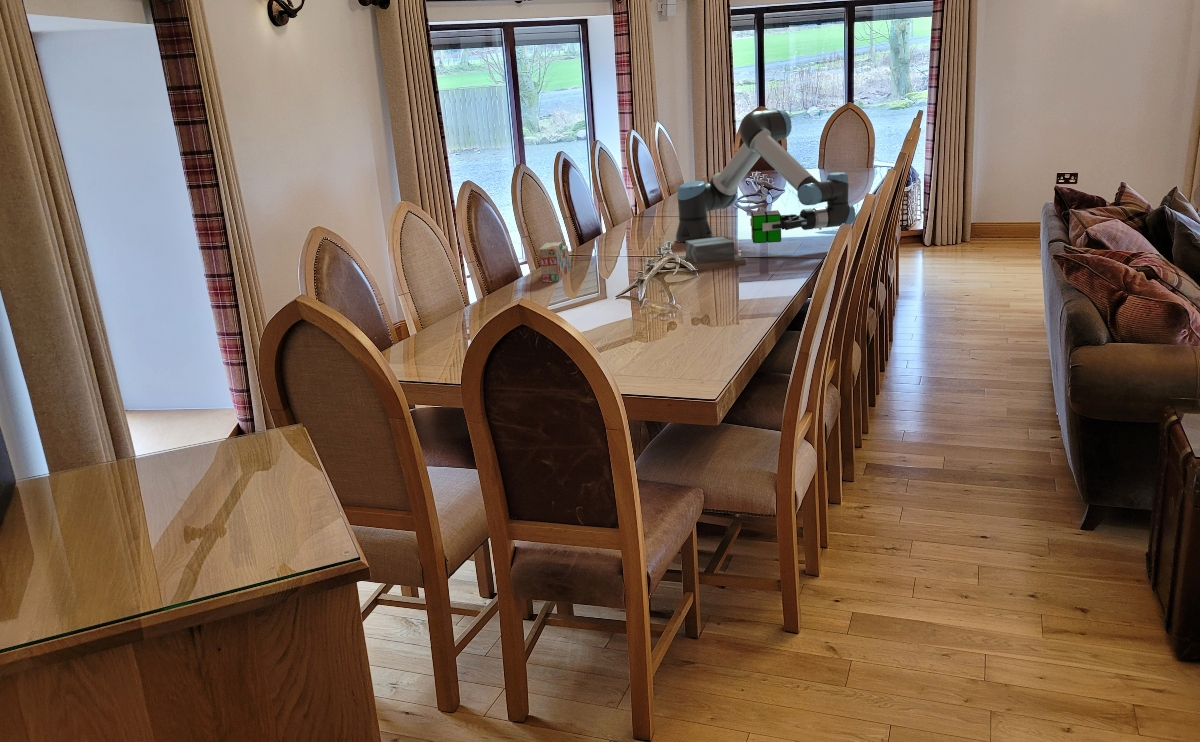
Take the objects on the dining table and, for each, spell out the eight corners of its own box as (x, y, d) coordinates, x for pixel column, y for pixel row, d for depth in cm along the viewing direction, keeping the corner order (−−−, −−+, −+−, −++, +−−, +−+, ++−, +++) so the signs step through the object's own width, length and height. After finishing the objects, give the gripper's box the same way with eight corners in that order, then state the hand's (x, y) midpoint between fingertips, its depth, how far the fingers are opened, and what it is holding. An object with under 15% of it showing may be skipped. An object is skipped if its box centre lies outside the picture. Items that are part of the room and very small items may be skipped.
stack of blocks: (553, 270, 349) (550, 238, 346) (570, 269, 348) (567, 237, 345) (542, 283, 329) (538, 248, 326) (559, 282, 328) (556, 247, 325)
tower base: (676, 261, 345) (675, 240, 343) (728, 255, 348) (727, 234, 346) (691, 271, 326) (690, 248, 324) (745, 264, 329) (745, 242, 327)
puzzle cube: (778, 237, 345) (778, 210, 342) (781, 242, 335) (780, 214, 332) (751, 238, 346) (750, 211, 343) (753, 243, 336) (752, 215, 333)
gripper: (826, 233, 331) (768, 240, 328) (800, 224, 354) (745, 230, 351) (826, 212, 329) (768, 218, 325) (799, 204, 352) (745, 210, 348)
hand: (756, 224), depth 338 cm, fingers closed on puzzle cube, 12 cm apart
